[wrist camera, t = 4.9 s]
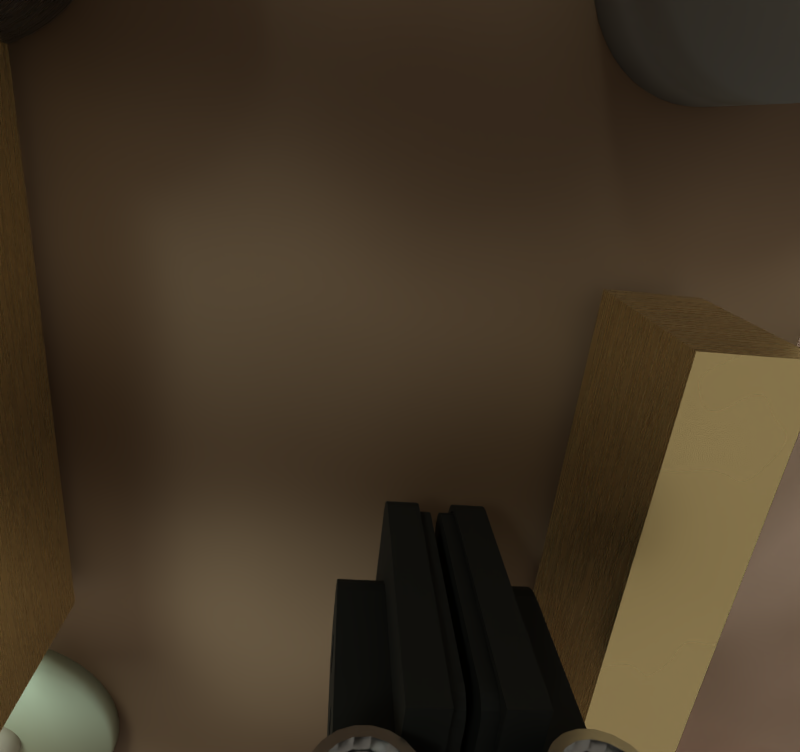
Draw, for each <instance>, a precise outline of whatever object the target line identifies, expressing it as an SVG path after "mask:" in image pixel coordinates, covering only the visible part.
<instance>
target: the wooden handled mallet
mask: <svg viewBox="0 0 800 752" xmlns="http://www.w3.org/2000/svg"><path fill="white" fill-rule="evenodd" d="M799 431H800V348H799V347H797V346H795V345H793V344H791V343H789V342H787V341H785V340H783V339H781V338H780V337H778V336H776V335H774V334H772V333H770V332H768V331H766V330H764V329H762V328H760V327H758V326H756V325H754V324H752V323H750V322H748V321H746V320H744V319H742V318H740V317H738V316H736V315H734V314H732V313H730V312H728V311H726V310H724V309H722V308H720V307H718V306H716V305H714V304H713V303H711V302H709V301H707V300H705V299H703V298H700V297H689V296H677V295H665V294H654V293H642V292H631V291H619V290H608V289H603V293H602V298H601V302H600V306H599V311H598V315H597V319H596V324H595V328H594V332H593V337H592V341H591V345H590V350H589V354H588V358H587V363H586V367H585V371H584V376H583V380H582V384H581V388H580V393H579V397H578V401H577V406H576V410H575V414H574V419H573V423H572V427H571V432H570V436H569V440H568V445H567V449H566V453H565V458H564V462H563V466H562V471H561V475H560V479H559V484H558V488H557V492H556V496H555V501H554V505H553V509H552V514H551V518H550V522H549V527H548V531H547V535H546V540H545V544H544V548H543V553H542V557H541V561H540V566H539V570H538V574H537V579H536V583H535V587H534V594H535V596H536V598H537V601H538V604H539V606H540V609H541V611H542V614H543V617H544V619H545V622H546V624H547V627H548V630H549V632H550V635H551V637H552V640H553V643H554V645H555V648H556V650H557V653H558V656H559V658H560V661H561V663H562V666H563V669H564V671H565V674H566V676H567V679H568V682H569V684H570V687H571V689H572V692H573V695H574V697H575V700H576V702H577V705H578V708H579V710H580V713H581V715H582V718H583V721H584V723H585V726H586V728H587V729H596V730H599V731H603V732H606V733H609V734H613V735H614V736H616V737H618V738H620V739H622V740H623V741H625V742H627V743H629V744H630V745H632V746H633V747H634V748H635V749H636V750H637V751H639V752H675V751H676V749H677V746H678V744H679V741H680V738H681V736H682V733H683V731H684V728H685V726H686V723H687V720H688V718H689V715H690V713H691V710H692V707H693V705H694V702H695V700H696V697H697V695H698V692H699V689H700V687H701V684H702V682H703V679H704V677H705V674H706V671H707V669H708V666H709V664H710V661H711V658H712V656H713V653H714V651H715V648H716V646H717V643H718V640H719V638H720V635H721V633H722V630H723V628H724V625H725V622H726V620H727V617H728V615H729V612H730V609H731V607H732V604H733V602H734V599H735V597H736V594H737V591H738V589H739V586H740V584H741V581H742V578H743V576H744V573H745V571H746V568H747V566H748V563H749V560H750V558H751V555H752V553H753V550H754V548H755V545H756V542H757V540H758V537H759V535H760V532H761V529H762V527H763V524H764V522H765V519H766V517H767V514H768V511H769V509H770V506H771V504H772V501H773V499H774V496H775V493H776V491H777V488H778V486H779V483H780V480H781V478H782V475H783V473H784V470H785V468H786V465H787V462H788V460H789V457H790V455H791V452H792V449H793V447H794V444H795V442H796V439H797V437H798V434H799Z"/></svg>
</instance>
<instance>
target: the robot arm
mask: <svg viewBox="0 0 800 752" xmlns="http://www.w3.org/2000/svg"><path fill="white" fill-rule="evenodd" d="M312 752H639V751H637V750H636V749H635V748H634V747H633V746H632V745H630V744H629V743H627V742H625V741H623V740H622V739H620V738H618V737H616V736H614V735H613V734H609V733H606V732H603V731H599V730H596V729H587V728H586V726H585V723H584V721H583V718H582V715H581V713H580V710H579V708H578V705H577V702H576V700H575V697H574V695H573V692H572V689H571V687H570V684H569V682H568V679H567V676H566V674H565V671H564V669H563V666H562V663H561V661H560V658H559V656H558V653H557V650H556V648H555V645H554V643H553V640H552V637H551V635H550V632H549V630H548V627H547V624H546V622H545V619H544V617H543V614H542V611H541V609H540V606H539V604H538V601H537V598H536V596H535V594H534V592H533V590H532V589H531V588H529V587H523V586H511V584H510V581H509V578H508V575H507V572H506V569H505V566H504V563H503V560H502V557H501V554H500V551H499V548H498V545H497V542H496V540H495V537H494V534H493V531H492V528H491V525H490V522H489V519H488V516H487V513H486V510H485V508H484V507H483V506H469V505H451V506H450V508H449V511H448V513H440V512H439V513H438V516H437V520H436V527H435V533H434V528H433V523H432V518H431V513H430V512H422V511H420V508H419V504H418V503H414V502H396V501H386V503H385V508H384V515H383V523H382V532H381V540H380V549H379V557H378V565H377V574H376V580H352V579H337V583H336V592H335V603H334V615H333V627H332V641H331V657H330V678H329V701H328V724H327V737H326V738H324V739H323V740H321V742H320V743H319V744H318V745H317V746H316V747H315V749H314V750H313V751H312Z"/></svg>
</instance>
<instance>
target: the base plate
mask: <svg viewBox="0 0 800 752" xmlns="http://www.w3.org/2000/svg"><path fill="white" fill-rule="evenodd" d="M8 47H9V55H10V63H11V72H12V80H13V88H14V97H15V105H16V113H17V122H18V130H19V138H20V147H21V155H22V163H23V172H24V180H25V188H26V197H27V205H28V213H29V222H30V230H31V238H32V246H33V255H34V263H35V271H36V280H37V288H38V296H39V305H40V313H41V321H42V330H43V338H44V346H45V355H46V363H47V371H48V380H49V388H50V396H51V405H52V413H53V421H54V430H55V438H56V446H57V454H58V463H59V471H60V479H61V488H62V496H63V504H64V513H65V521H66V529H67V538H68V546H69V554H70V563H71V571H72V579H73V588H74V596H75V604H74V605H73V607H72V609H71V610H70V612H69V614H68V616H67V617H66V619H65V621H64V623H63V624H62V626H61V628H60V630H59V631H58V633H57V635H56V636H55V638H54V640H53V642H52V643H51V645H50V647H49V649H48V650H47V652H46V654H45V656H44V657H43V659H42V661H41V662H40V664H39V666H38V668H37V669H36V671H35V673H34V675H33V676H32V678H31V680H30V681H29V683H28V685H27V687H26V688H25V690H24V692H23V694H22V695H21V697H20V699H19V701H18V702H17V704H16V706H15V707H14V709H13V711H12V713H11V714H10V716H9V718H8V720H7V721H6V723H5V725H4V726H3V728H2V730H1V732H0V752H312V751H313V750H314V749H315V747H316V746H317V745H318V744H319V743H320V742H321V740H323V739H324V738H326V737H327V724H328V701H329V678H330V657H331V641H332V627H333V615H334V603H335V592H336V583H337V579H352V580H376V574H377V565H378V557H379V549H380V540H381V532H382V523H383V515H384V508H385V503H386V501H396V502H414V503H418V504H419V508H420V511H422V512H430V513H431V518H432V523H433V528H434V533H435V527H436V520H437V516H438V513H439V512H440V513H448V511H449V508H450V506H451V505H469V506H483V507H484V508H485V510H486V513H487V516H488V519H489V522H490V525H491V528H492V531H493V534H494V537H495V540H496V542H497V545H498V548H499V551H500V554H501V557H502V560H503V563H504V566H505V569H506V572H507V575H508V578H509V581H510V584H511V586H523V587H529V588H531V589H532V590H533V592H534V587H535V583H536V579H537V574H538V570H539V566H540V561H541V557H542V553H543V548H544V544H545V540H546V535H547V531H548V527H549V522H550V518H551V514H552V509H553V505H554V501H555V496H556V492H557V488H558V484H559V479H560V475H561V471H562V466H563V462H564V458H565V453H566V449H567V445H568V440H569V436H570V432H571V427H572V423H573V419H574V414H575V410H576V406H577V401H578V397H579V393H580V388H581V384H582V380H583V376H584V371H585V367H586V363H587V358H588V354H589V350H590V345H591V341H592V337H593V332H594V328H595V324H596V319H597V315H598V311H599V306H600V302H601V298H602V293H603V289H608V290H619V291H631V292H642V293H654V294H665V295H677V296H689V297H700V298H703V299H705V300H707V301H709V302H711V303H713V304H714V305H716V306H718V307H720V308H722V309H724V310H726V311H728V312H730V313H732V314H734V315H736V316H738V317H740V318H742V319H744V320H746V321H748V322H750V323H752V324H754V325H756V326H758V327H760V328H762V329H764V330H766V331H768V332H770V333H772V334H774V335H776V336H778V337H780V338H781V339H783V340H785V341H787V342H789V343H791V344H793V345H795V346H796V345H797V342H798V340H799V337H800V0H72V2H71V3H70V4H69V5H68V7H67V8H66V9H65V10H63V11H62V12H61V13H60V14H59V15H58V16H57V17H56V18H55V19H54V20H52V21H51V22H50V23H49V24H47V25H45V26H44V27H42V28H41V29H39V30H38V31H36V32H35V33H33V34H31V35H29V36H27V37H24V38H22V39H20V40H18V41H15V42H13V43H10V44H8Z"/></svg>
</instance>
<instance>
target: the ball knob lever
mask: <svg viewBox="0 0 800 752" xmlns="http://www.w3.org/2000/svg"><path fill="white" fill-rule="evenodd" d="M71 2H72V0H0V732H1V730H2V728H3V726H4V725H5V723H6V721H7V720H8V718H9V716H10V714H11V713H12V711H13V709H14V707H15V706H16V704H17V702H18V701H19V699H20V697H21V695H22V694H23V692H24V690H25V688H26V687H27V685H28V683H29V681H30V680H31V678H32V676H33V675H34V673H35V671H36V669H37V668H38V666H39V664H40V662H41V661H42V659H43V657H44V656H45V654H46V652H47V650H48V649H49V647H50V645H51V643H52V642H53V640H54V638H55V636H56V635H57V633H58V631H59V630H60V628H61V626H62V624H63V623H64V621H65V619H66V617H67V616H68V614H69V612H70V610H71V609H72V607H73V605H74V604H75V596H74V588H73V579H72V571H71V563H70V554H69V546H68V538H67V529H66V521H65V513H64V504H63V496H62V488H61V479H60V471H59V463H58V454H57V446H56V438H55V430H54V421H53V413H52V405H51V396H50V388H49V380H48V371H47V363H46V355H45V346H44V338H43V330H42V321H41V313H40V305H39V296H38V288H37V280H36V271H35V263H34V255H33V246H32V238H31V230H30V222H29V213H28V205H27V197H26V188H25V180H24V172H23V163H22V155H21V147H20V138H19V130H18V122H17V113H16V105H15V97H14V88H13V80H12V72H11V63H10V55H9V47H8V44H10V43H13V42H15V41H18V40H20V39H22V38H24V37H27V36H29V35H31V34H33V33H35V32H36V31H38V30H39V29H41V28H42V27H44V26H45V25H47V24H49V23H50V22H51V21H52V20H54V19H55V18H56V17H57V16H58V15H59V14H60V13H61V12H62V11H63V10H65V9H66V8H67V7H68V5H69V4H70V3H71Z"/></svg>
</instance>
